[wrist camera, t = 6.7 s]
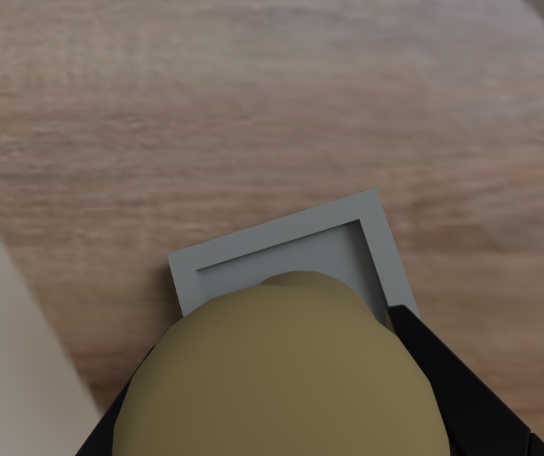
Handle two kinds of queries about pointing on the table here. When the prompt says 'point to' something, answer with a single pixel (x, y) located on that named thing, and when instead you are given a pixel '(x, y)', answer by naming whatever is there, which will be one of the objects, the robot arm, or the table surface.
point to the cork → (280, 380)
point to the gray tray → (301, 255)
